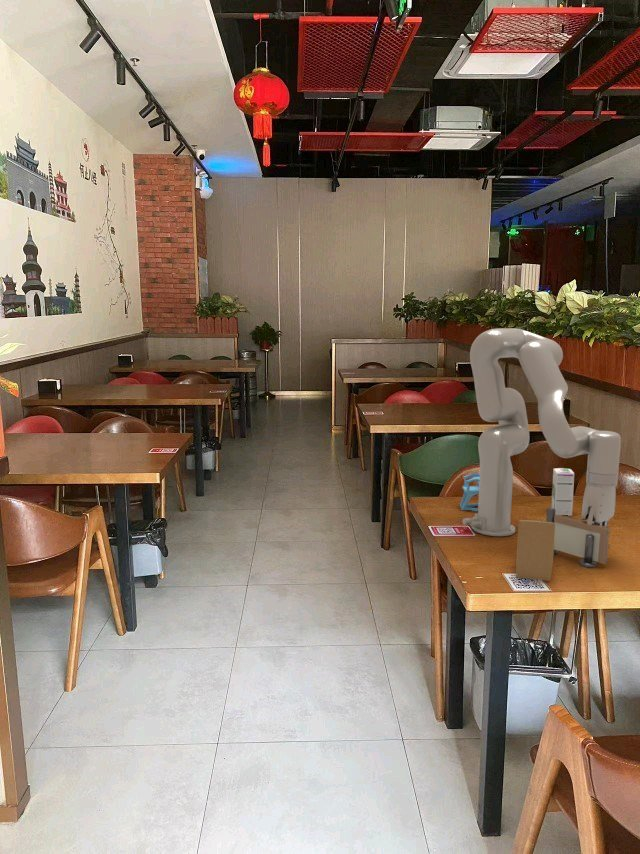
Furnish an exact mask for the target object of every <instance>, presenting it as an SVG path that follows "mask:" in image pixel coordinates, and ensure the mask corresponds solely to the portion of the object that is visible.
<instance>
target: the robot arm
mask: <svg viewBox="0 0 640 854" xmlns="http://www.w3.org/2000/svg"><path fill="white" fill-rule="evenodd" d="M469 351H470V352H469V362H470V366H471V370H472V375H473V381H474V382H473V383H474V389H475V390H474V391H475V395H476V398H475V399H476V403H477V410H478V414H479V416H480V419H482V420H483V421H485V422H489V423H496V422H498V425H495V426H492V427H489V428H487V429H485V430H484V431H483V432H482V433H481V435H480V436H479V438H478V443H477V447H478V448H477V449H478V456H479V474H480V483H479V494H478V506H477V508H478V512H477V513H474V516H472V517H471V518H470V517H467V518H465V517H464V518H462V525H463V526H466V525H470V526H471V529H472V530H473V531H474V532H476V533H479V534H481V535H483V536H484V535H485V536H491V537H507V536H511V535H513V534H516V527H515V526H514V524H511V514H512V513H511V512H512V501H513V500H512V496H513V481H514V480H513V479H514V470H513V465H512V461H511V457H512V456H514V455H515V456H516V455H518V454H521V453H523V452H525V450H527V448H528V447H529V444H530V430H529V422H528V421H529V420H528V415H527V409H526V408H527V407H526V403H525V400H524V398H523V396H522V394H521V393H520V392H519V391H518V390H516V389H514V388H513V387H506V383H505V376H504V372H503V369H502V367H501V365H500V364H499V362H498V361H499V359H503V358H506V359H507V358H515V359H518V361H519V363H520V366H521V369H522V370H523V373H524V374H525V376H526V378H527V380H528V383H529V384H530V387H531V389H532V390H533V392H534V394H535V397H536V399H537V413H538V422H539V427H540V429H541V431H542V434H543V436H544V438H545V441H546V442H547V444H548V446H549V448H550V450H551V451H552V452H553V453H554V454H555V455H557V456H558V457H560V458H563V459H571V458H574V457H577V456H582V455H587V463H586V464H587V466H586V476H585V477H586V478H585V479H586V480H585V481H586V482H585V483H586V485H585V488H584V493H583V499H582V507H581V513H580V514H581V516H580V518H581V519H580V520H582V521H586V520H587V521H586V522H587V524H588V525H593V524H598V525H602V526H607V522H608V523H609V521H610V519H612V518H613V517H614V515H615V510H616V495H617V494H616V492H617V491H616V487H617V486H618V483H619V482H618V479H619V469H620V468H619V467H620V466H619V465H620V455H621V447H622V446H621V445H622V444H621V443H622V437H621V435H620V434H619V433H618V432H615V431H610V430H599V429H594V428H592V427H589V426H583V425H582V426H581V425H579V426H574V427H570V425H569V421H567V418H566V415H565V412H564V400H565V398H566V395H567V393H568V390H569V387H568V383H567V382H566V380H565V378H564V376H563V374H562V372H561V370H560V367H559V366H560V365H561V363H562V362H563V361H562V360H563V358H564V353H563V349H562V347H561V346H560V344H559V343H557V342H556V341H555V340H554V339H550V338H548V337H544V336H542V335H539V334H536V333H533V332H531V331H527V330H525V329H522V328H516V327H515V328H514V327H513V328H511V327H509V328H505V327H504V328H502V327H501V328H492V329H488V330H486V331H483V332H482V333H480V334H479V335H478V336H477V337H476V338H475V339H474V341H472V344H471V346H470V349H469Z"/></svg>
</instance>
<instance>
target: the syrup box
mask: <svg viewBox="0 0 640 854" xmlns="http://www.w3.org/2000/svg"><path fill="white" fill-rule="evenodd" d="M574 483H575V472H574V471H573V470H572V469H571V468H565V467H558V468H553V473H552V490H551V507H550V508H554V509H556V512H555V516H556V515H568V516H567V517H572V516H573V505H574V488H575V487H574V486H575V485H574Z"/></svg>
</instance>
